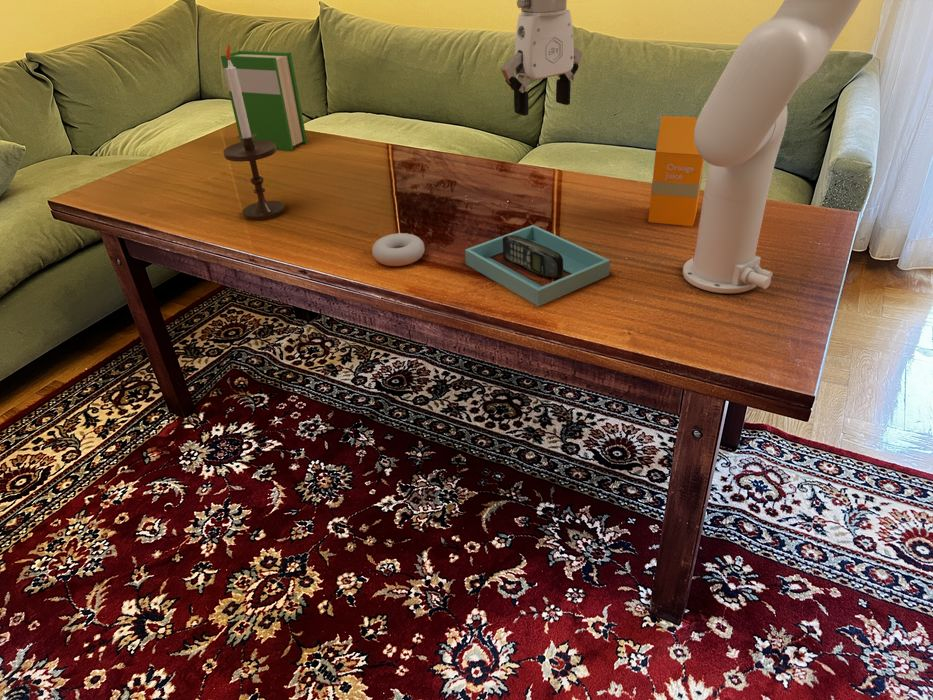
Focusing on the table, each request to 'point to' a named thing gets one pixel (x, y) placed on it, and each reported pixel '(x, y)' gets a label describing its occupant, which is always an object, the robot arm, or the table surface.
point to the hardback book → (268, 96)
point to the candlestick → (250, 153)
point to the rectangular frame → (575, 262)
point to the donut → (398, 249)
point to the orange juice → (676, 173)
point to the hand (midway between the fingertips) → (542, 108)
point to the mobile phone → (533, 256)
